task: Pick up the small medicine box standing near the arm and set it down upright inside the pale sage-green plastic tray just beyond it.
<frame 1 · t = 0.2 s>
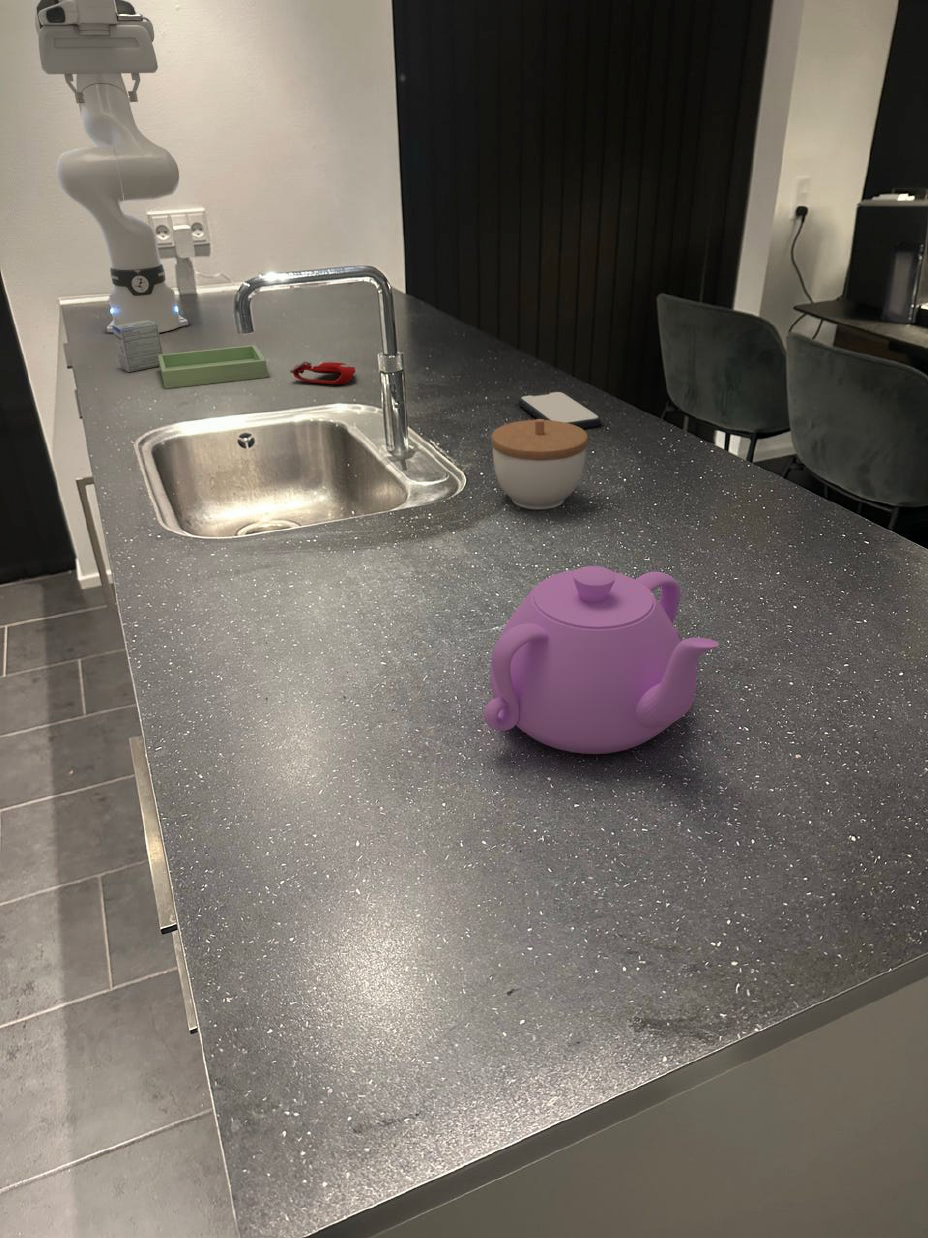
hand: (107, 102, 168), 47 cm above the counter, tool pointing down, fingers open, 8 cm apart
phone case: (558, 416, 154), on the counter
teapot: (603, 723, 79), on the counter
tracker holder: (326, 380, 176), on the counter
tray: (213, 373, 181), on the counter
lidded bowl: (537, 500, 123), on the counter
medicine box: (143, 368, 187), on the counter
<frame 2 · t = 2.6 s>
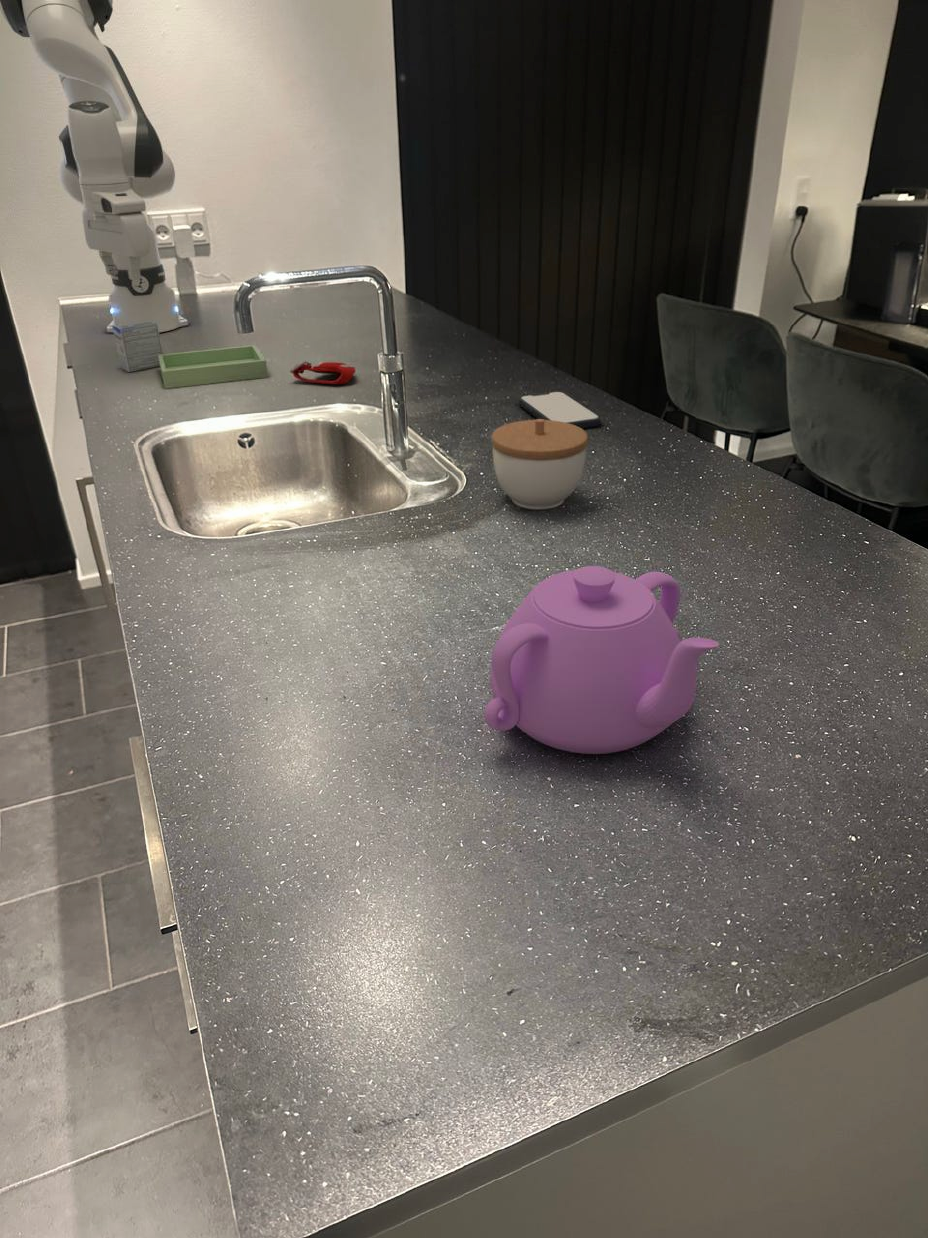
hand: (123, 277, 178), 18 cm above the counter, tool pointing down, fingers open, 8 cm apart
nothing on the counter moved.
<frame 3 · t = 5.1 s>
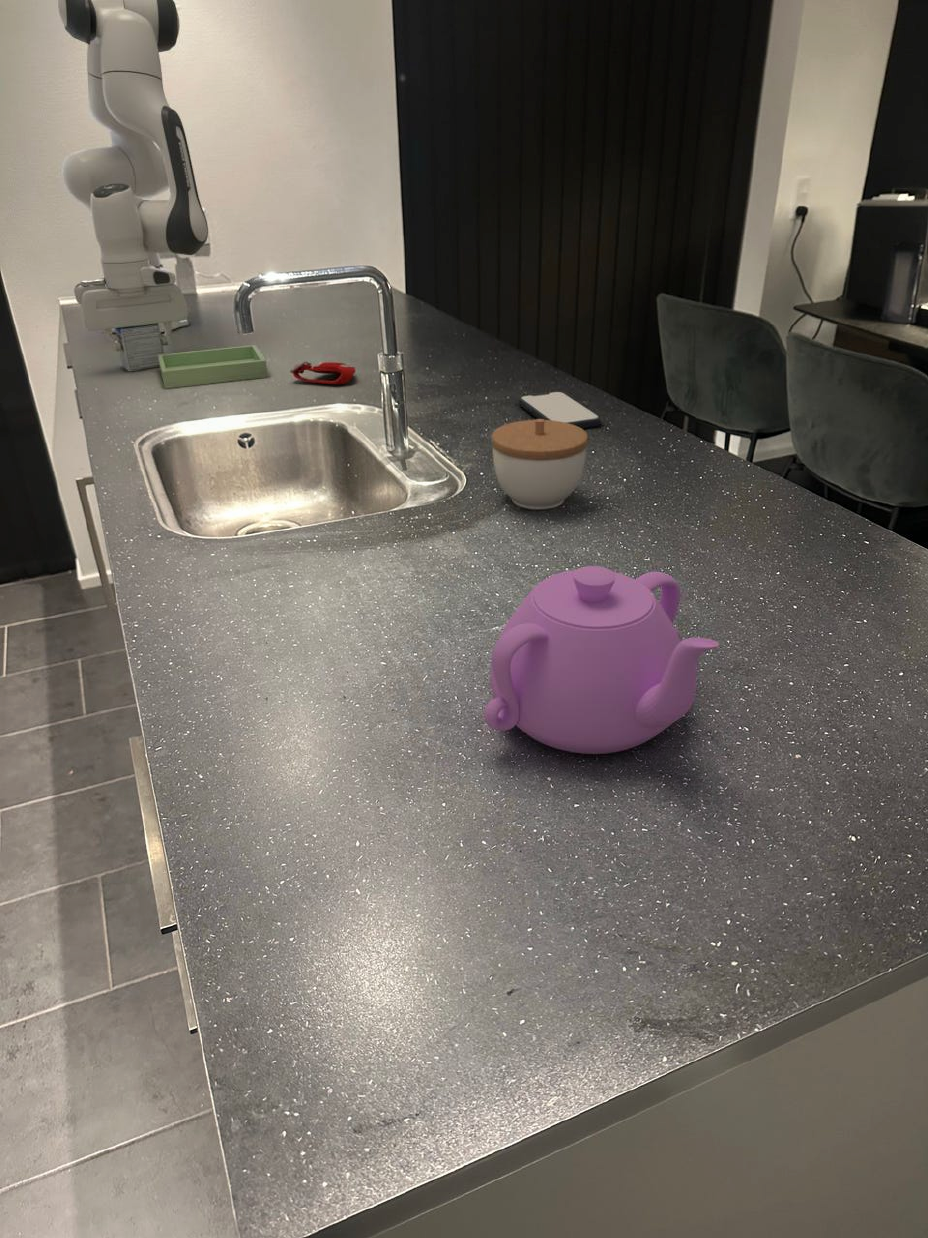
hand: (142, 347, 184), 4 cm above the counter, tool pointing down, fingers closed on medicine box, 8 cm apart
medicine box: (145, 367, 187), on the counter, touching gripper
everything else where it was.
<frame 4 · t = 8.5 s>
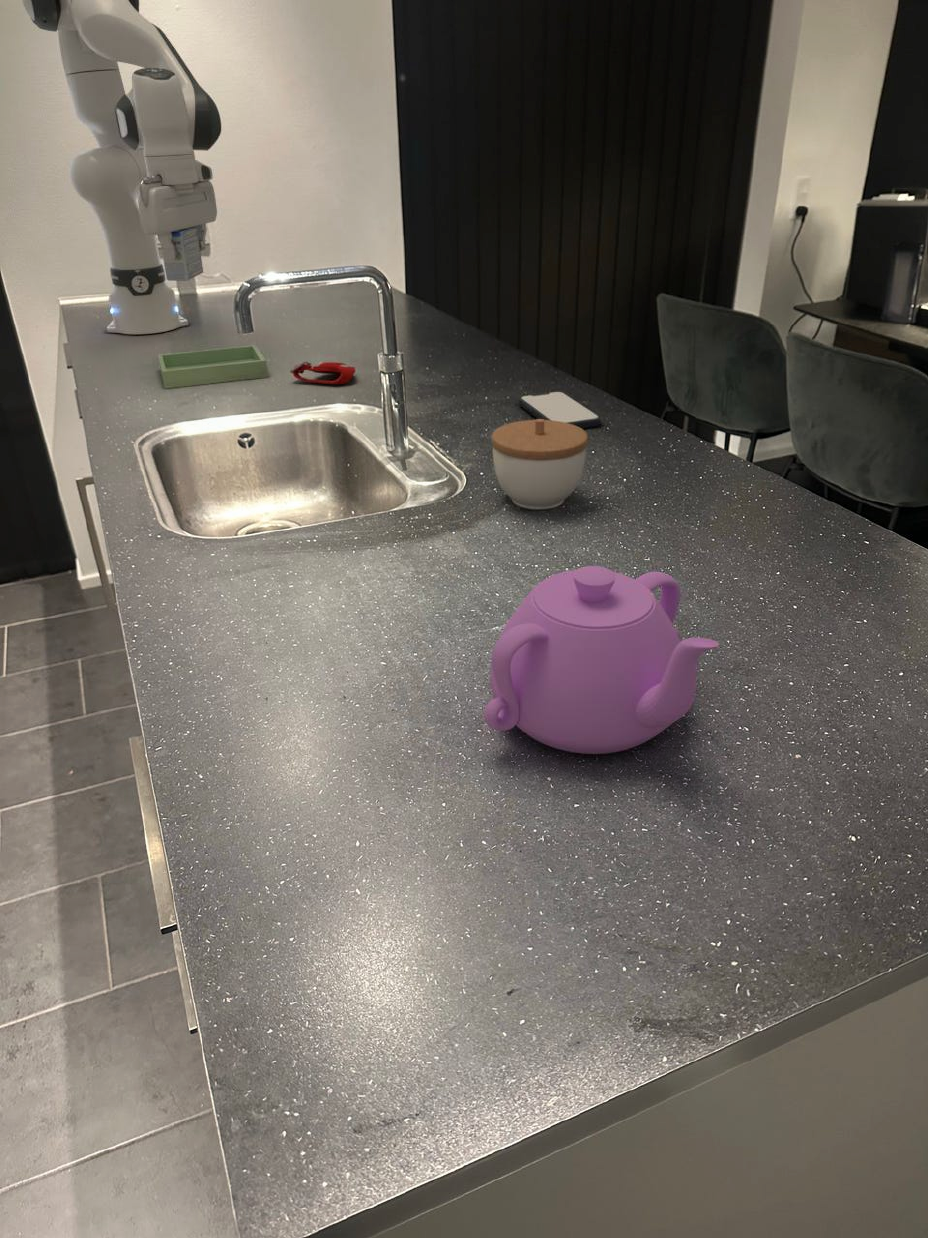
hand: (186, 254, 170), 22 cm above the counter, tool pointing down, fingers closed on medicine box, 8 cm apart
medicine box: (186, 278, 172), point 18 cm above the counter, touching gripper
everything else where it was.
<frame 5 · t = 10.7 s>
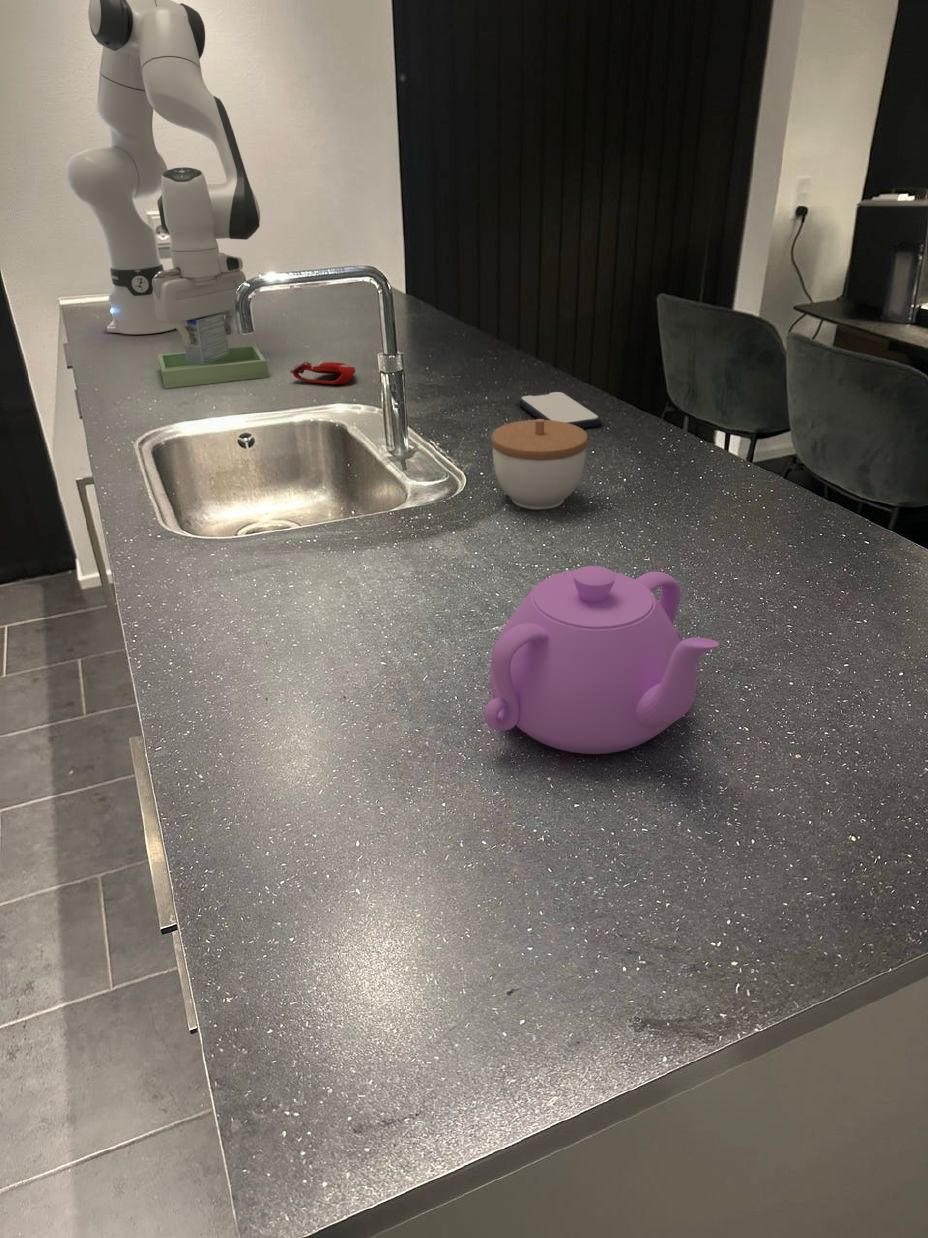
hand: (208, 338, 178), 7 cm above the counter, tool pointing down, fingers closed on medicine box, 8 cm apart
medicine box: (208, 359, 180), point 3 cm above the counter, touching gripper
everything else where it was.
when the fingers open (5 cm above the counter, at t = 12.5 s): medicine box stays where it is, resting on tray.
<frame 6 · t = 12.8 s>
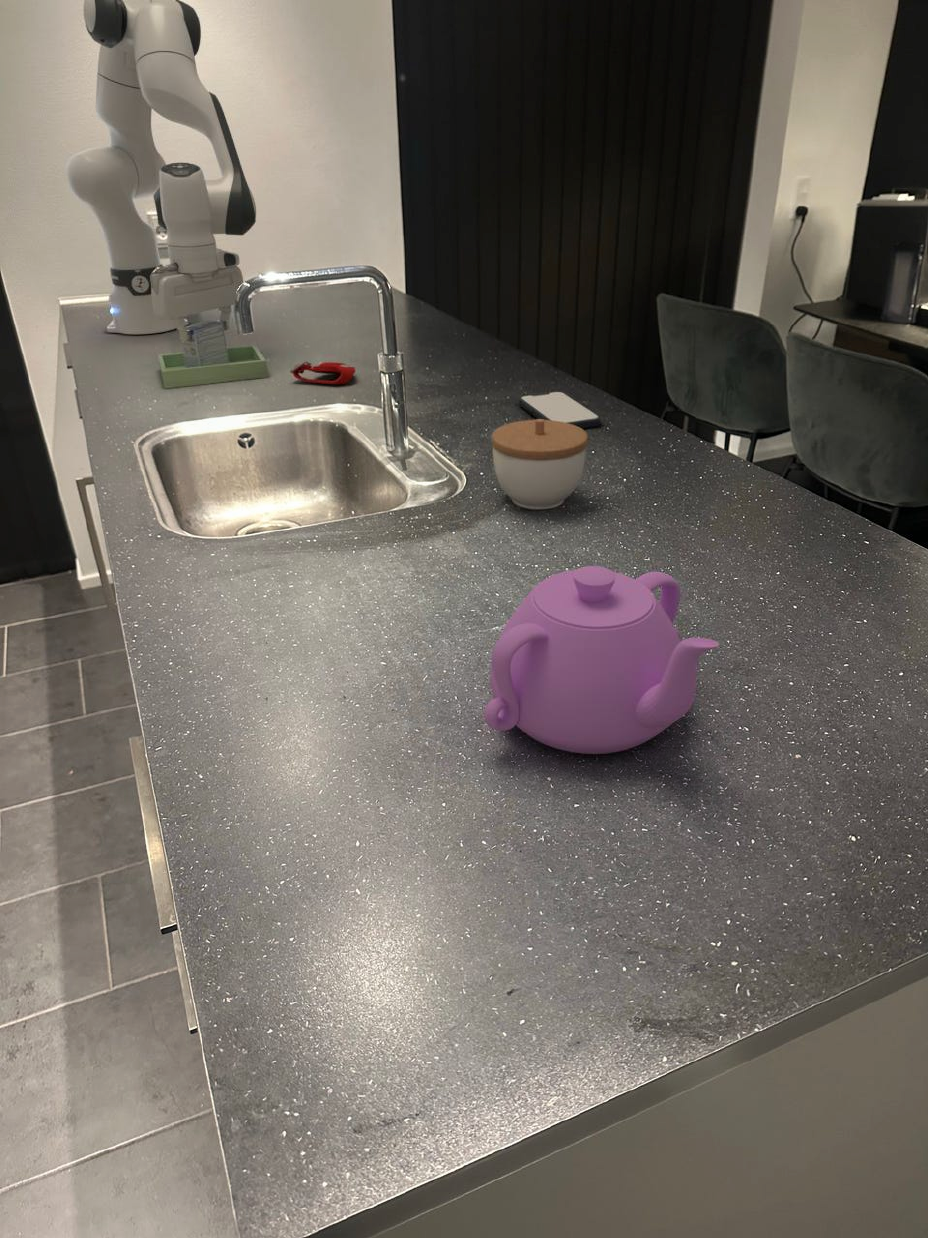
hand: (205, 334, 177), 8 cm above the counter, tool pointing down, fingers open, 8 cm apart
medicine box: (208, 370, 181), point 1 cm above the counter, touching gripper, tray
everything else where it was.
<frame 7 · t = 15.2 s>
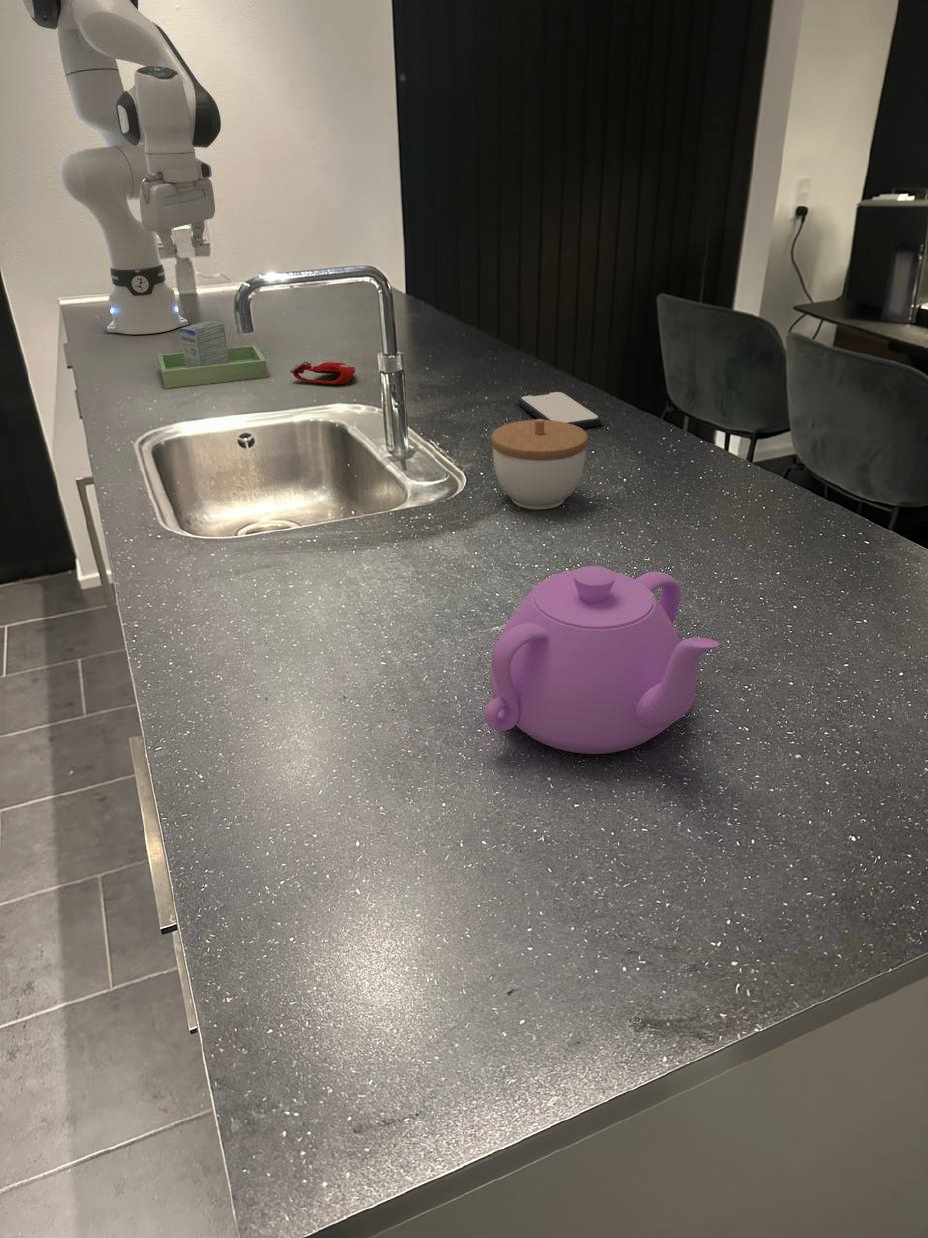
hand: (185, 250, 173), 23 cm above the counter, tool pointing down, fingers open, 8 cm apart
medicine box: (208, 370, 181), point 1 cm above the counter, touching tray
everything else where it was.
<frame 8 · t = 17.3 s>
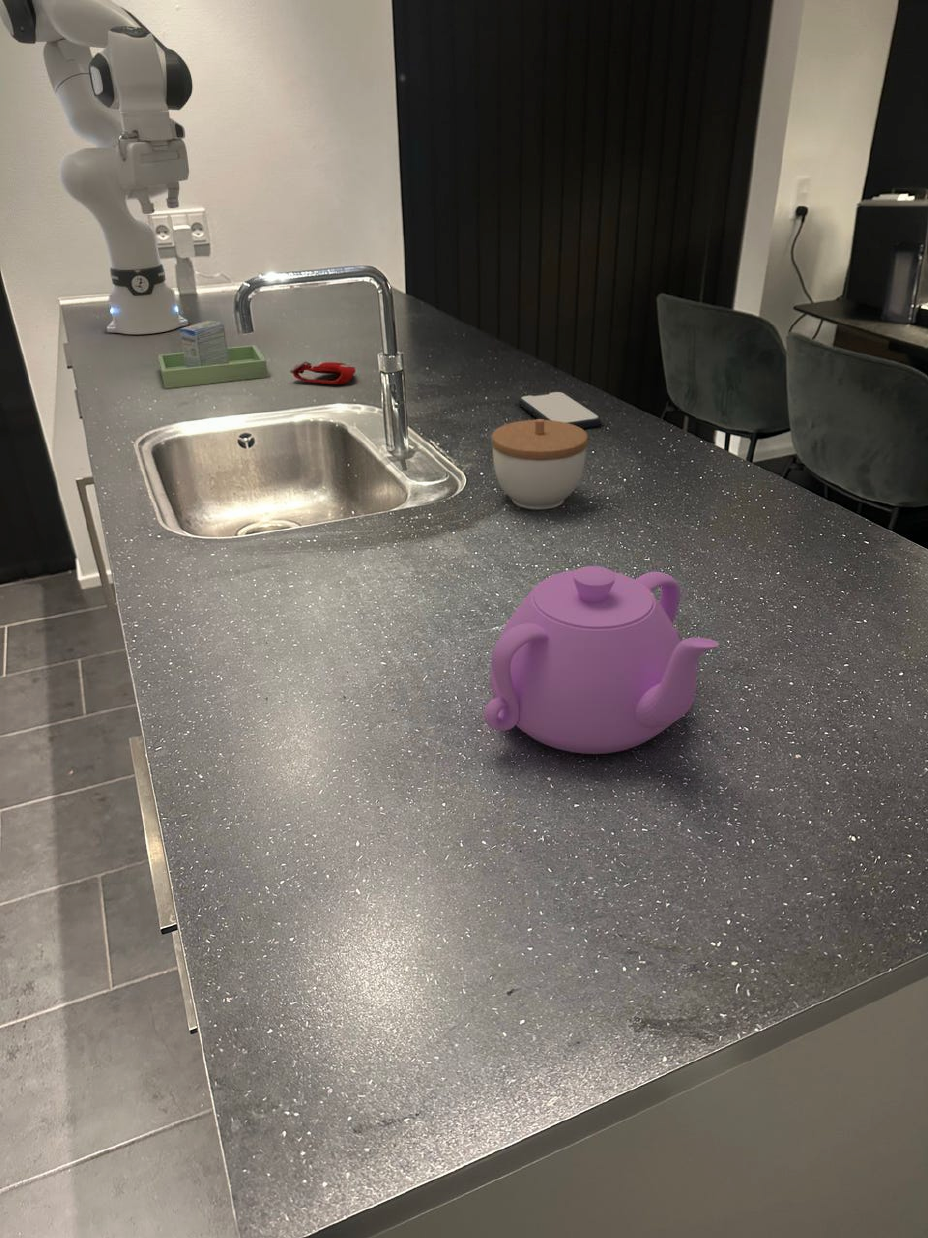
hand: (161, 210, 175), 29 cm above the counter, tool pointing down, fingers open, 8 cm apart
nothing on the counter moved.
at the end: medicine box inside the target area in the tray (1.0 cm from its centre), point 0.6 cm above the tray's base; medicine box tilted 0° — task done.
